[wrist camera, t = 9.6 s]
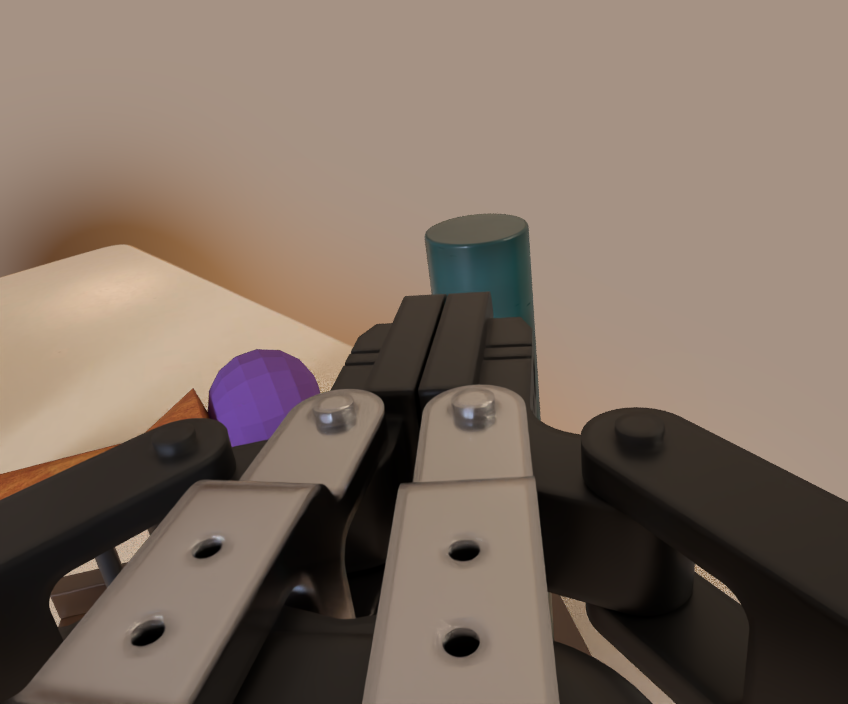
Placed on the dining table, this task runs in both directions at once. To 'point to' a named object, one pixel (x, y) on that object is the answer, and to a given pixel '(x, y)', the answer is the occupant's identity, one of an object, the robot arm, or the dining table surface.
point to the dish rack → (449, 273)
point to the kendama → (215, 408)
